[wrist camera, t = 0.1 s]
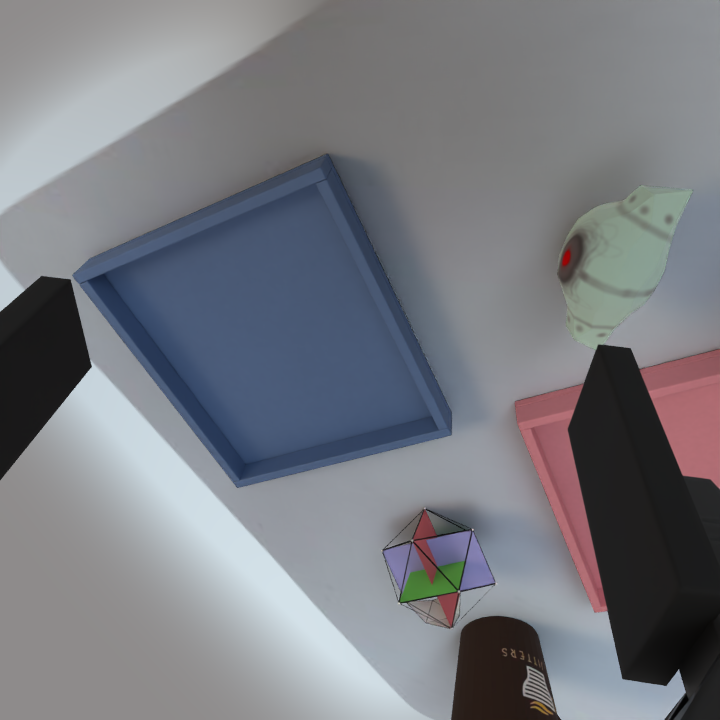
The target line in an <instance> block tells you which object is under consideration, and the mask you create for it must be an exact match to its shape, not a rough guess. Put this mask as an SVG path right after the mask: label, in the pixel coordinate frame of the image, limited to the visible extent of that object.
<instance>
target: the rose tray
mask: <svg viewBox="0 0 720 720" xmlns="http://www.w3.org/2000/svg"><path fill="white" fill-rule="evenodd" d="M640 372H641V375H642V377H643V380H644V382H645V385H646V387H647V390H648V392H649V394H650V397H651V399H652V402H653V404H654V407H655V409H656V412H657V414H658V416H659V419H660V421H661V424H662V426H663V429H664V431H665V434H666V436H667V438H668V441H669V443H670V446H671V448H672V451H673V453H674V456H675V458H676V460H677V463H678V465H679V468H680V470H681V473H682V475H683V476H690V477H698V478H705V479H711V480H712V482H713V483H714V484H715V485H716V486H717V487H718V488H719V489H720V349H718V350H714V351H710V352H706V353H702V354H699V355H695V356H691V357H687V358H683V359H679V360H675V361H671V362H667V363H663V364H660V365H656V366H652V367H648V368H644V369H640ZM583 385H584V384H582V385H578V386H574V387H570V388H566V389H562V390H558V391H554V392H550V393H546V394H543V395H539V396H535V397H531V398H527V399H523V400H519V401H515V407H516V408H515V409H516V417H517V424H518V426H519V429H520V431H521V434H522V436H523V439H524V441H525V444H526V446H527V448H528V451H529V453H530V456H531V458H532V461H533V463H534V466H535V468H536V470H537V473H538V475H539V478H540V480H541V483H542V485H543V488H544V490H545V492H546V495H547V497H548V500H549V502H550V505H551V507H552V509H553V512H554V514H555V517H556V519H557V522H558V524H559V527H560V529H561V531H562V534H563V536H564V539H565V541H566V544H567V546H568V549H569V551H570V553H571V556H572V558H573V561H574V563H575V566H576V568H577V571H578V573H579V575H580V578H581V580H582V583H583V585H584V588H585V590H586V593H587V595H588V597H589V600H590V602H591V605H592V607H593V610H594V612H595V613H596V612H604V611H607V606H606V602H605V597H604V593H603V588H602V583H601V579H600V574H599V570H598V565H597V561H596V556H595V552H594V547H593V543H592V538H591V534H590V529H589V525H588V520H587V516H586V511H585V506H584V502H583V497H582V493H581V488H580V484H579V479H578V475H577V470H576V466H575V461H574V457H573V452H572V448H571V443H570V439H569V434H568V426H569V424H570V421H571V418H572V415H573V413H574V410H575V407H576V404H577V401H578V399H579V396H580V393H581V390H582V388H583Z"/></svg>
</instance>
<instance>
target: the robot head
mask: <svg viewBox="0 0 720 720" xmlns="http://www.w3.org/2000/svg"><path fill="white" fill-rule="evenodd" d="M692 192H693V190H690V189H678V188H666V187H654V186H643V185H640V186H639V187H638V188H637V189H636V190H635V191H634V192H633V193H631V194H630V195H629V196H628V197H627V198H626V199H625V200H623V201H618V202H612V203H605V204H602V205H600V206H597V207H594V208H593V209H592V210H590V211H589V212H587V213H586V214H584V215H583V216H582V217H580V218H579V219H578V220H577V221H576V223H575V224H574V226H573V227H572V229H571V230H570V232H569V233H568V235H567V238H566V240H565V242H564V245H563V247H562V250H561V252H560V255H559V259H558V273H557V275H558V278H559V281H560V285H561V288H562V291H563V294H564V297H565V300H566V303H567V318H566V327H567V328H568V330H569V332H570V334H571V335H572V337H573V339H574V340H576V341H578V342H580V343H582V344H584V345H586V346H588V347H590V348H592V349H594V350H596V349H597V346H598V344H599V345H604V343H605V342H606V341H607V339H608V338H609V337H610V335H611V334H612V333H613V331H614V330H615V329H616V328H617V327H618V326H619V325H620V324H621V323H622V322H623V321H624V320H625V319H626V318H627V317H628V316H629V315H630V314H632V313H633V312H634V311H636V310H637V309H639V308H640V307H641V306H643V305H644V304H645V303H646V301H647V300H648V299H649V297H650V296H651V294H652V293H653V292H654V290H655V289H656V287H657V285H658V283H659V281H660V279H661V277H662V275H663V273H664V271H665V267H666V262H667V257H668V253H669V249H670V245H671V242H672V239H673V236H674V233H675V229H676V226H677V224H678V222H679V219H680V217H681V215H682V213H683V211H684V209H685V207H686V205H687V203H688V200H689V198H690V196H691V194H692Z"/></svg>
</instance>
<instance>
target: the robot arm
mask: <svg viewBox="0 0 720 720" xmlns="http://www.w3.org/2000/svg"><path fill="white" fill-rule="evenodd" d="M91 367H92V366H91V362H90V358H89V354H88V350H87V345H86V341H85V337H84V333H83V329H82V325H81V321H80V316H79V312H78V308H77V304H76V300H75V296H74V292H73V288H72V283H71V280H69V279H61V278H53V277H45V276H41V277H40V278H39V279H38V280H36V281H35V282H34V283H33V284H32V285H31V286H29V287H28V288H27V289H26V290H25V291H24V292H23V293H21V294H20V295H19V296H18V297H17V298H16V299H15V300H13V301H12V302H11V303H10V304H9V305H8V306H7V307H5V308H4V309H3V310H2V311H1V312H0V480H1V479H2V477H3V476H4V475H5V474H6V472H7V471H8V470H9V469H10V467H11V466H12V465H13V464H14V463H15V461H16V460H17V459H18V458H19V456H20V455H21V454H22V453H23V451H24V450H25V449H26V448H27V446H28V445H29V444H30V443H31V441H32V440H33V439H34V438H35V437H36V435H37V434H38V433H39V432H40V430H41V429H42V428H43V427H44V425H45V424H46V423H47V422H48V420H49V419H50V418H51V417H52V415H53V414H54V413H55V412H56V410H57V409H58V408H59V407H60V405H61V404H62V403H63V402H64V401H65V399H66V398H67V397H68V396H69V394H70V393H71V392H72V390H73V389H74V388H75V387H76V385H77V384H78V383H79V382H80V381H81V379H82V378H83V377H84V376H85V374H86V373H87V372H88V371H89V369H90V368H91ZM568 434H569V439H570V443H571V448H572V452H573V457H574V461H575V466H576V470H577V475H578V479H579V484H580V488H581V493H582V497H583V502H584V506H585V511H586V516H587V520H588V525H589V529H590V534H591V538H592V543H593V547H594V552H595V556H596V561H597V565H598V570H599V574H600V579H601V583H602V588H603V593H604V597H605V602H606V606H607V611H608V615H609V620H610V624H611V629H612V633H613V638H614V642H615V647H616V651H617V656H618V660H619V665H620V670H621V674H622V679H626V680H632V681H638V682H645V683H651V684H658V685H664V686H667V684H668V683H669V682H670V680H671V679H672V677H673V676H674V675H675V673H676V672H677V671H678V669H679V670H680V674H681V677H682V680H683V684H684V687H685V691H686V693H685V694H684V695H683V697H682V698H681V699H680V700H679V702H678V703H677V704H676V706H675V707H674V708H673V709H672V711H671V712H670V713H669V714H668V716H667V717H666V718H665V720H720V489H719V488H718V487H717V486H716V485H715V484H714V483H713V482H712V480H711V479H705V478H698V477H690V476H683V475H682V473H681V470H680V468H679V465H678V463H677V460H676V458H675V456H674V453H673V451H672V448H671V446H670V443H669V441H668V438H667V436H666V434H665V431H664V429H663V426H662V424H661V421H660V419H659V416H658V414H657V412H656V409H655V407H654V404H653V402H652V399H651V397H650V394H649V392H648V390H647V387H646V385H645V382H644V380H643V377H642V375H641V372H640V370H639V367H638V365H637V363H636V360H635V358H634V355H633V353H632V350H631V348H624V347H616V346H608V345H599V344H598V346H597V349H596V352H595V354H594V357H593V360H592V363H591V365H590V368H589V371H588V374H587V376H586V379H585V382H584V385H583V388H582V390H581V393H580V396H579V399H578V401H577V404H576V407H575V410H574V413H573V415H572V418H571V421H570V424H569V426H568Z"/></svg>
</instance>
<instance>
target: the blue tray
mask: <svg viewBox="0 0 720 720" xmlns="http://www.w3.org/2000/svg"><path fill="white" fill-rule="evenodd" d="M72 276H73V277H74V279H75V280H76V281H77V282H78V283H79V284H80V286H81V288H82V289H83V290H84V291H85V293H86V294H87V295H88V297H89V298H90V299H91V300H92V302H93V303H94V304H95V306H96V307H97V308H98V309H99V311H100V312H101V313H102V315H103V316H104V317H105V318H106V320H107V321H108V322H109V324H110V325H111V326H112V327H113V329H114V330H115V331H116V333H117V334H118V335H119V336H120V338H121V339H122V340H123V342H124V343H125V344H126V345H127V347H128V348H129V349H130V350H131V352H132V353H133V354H134V356H135V357H136V358H137V359H138V361H139V362H140V363H141V365H142V366H143V367H144V368H145V370H146V371H147V372H148V374H149V375H150V376H151V377H152V379H153V380H154V381H155V383H156V384H157V385H158V386H159V388H160V389H161V390H162V392H163V393H164V394H165V395H166V397H167V398H168V399H169V401H170V402H171V403H172V404H173V406H174V407H175V408H176V410H177V411H178V412H179V413H180V415H181V416H182V417H183V419H184V420H185V421H186V422H187V424H188V425H189V426H190V428H191V429H192V430H193V431H194V433H195V434H196V435H197V437H198V438H199V439H200V440H201V442H202V443H203V444H204V446H205V447H206V448H207V449H208V451H209V452H210V453H211V455H212V456H213V457H214V458H215V460H216V461H217V462H218V464H219V465H220V466H221V467H222V469H223V470H224V471H225V473H226V474H227V475H228V476H229V478H230V479H231V480H232V481H233V483H234V484H235V486H236V487H237V488H239V487H243V486H247V485H251V484H255V483H259V482H263V481H268V480H272V479H276V478H280V477H284V476H288V475H292V474H296V473H300V472H304V471H308V470H312V469H316V468H320V467H324V466H328V465H332V464H337V463H341V462H345V461H349V460H353V459H357V458H361V457H365V456H369V455H373V454H377V453H381V452H385V451H389V450H393V449H397V448H401V447H406V446H410V445H414V444H418V443H422V442H426V441H430V440H434V439H438V438H442V437H446V436H450V435H452V413H451V411H450V409H449V407H448V404H447V402H446V400H445V398H444V396H443V394H442V392H441V390H440V388H439V386H438V384H437V381H436V379H435V377H434V375H433V373H432V371H431V369H430V367H429V365H428V363H427V360H426V358H425V356H424V354H423V352H422V350H421V348H420V346H419V344H418V342H417V340H416V337H415V335H414V333H413V331H412V329H411V327H410V325H409V323H408V321H407V319H406V316H405V314H404V312H403V310H402V308H401V306H400V304H399V302H398V300H397V298H396V296H395V293H394V291H393V289H392V287H391V285H390V283H389V281H388V279H387V277H386V275H385V272H384V270H383V268H382V266H381V264H380V262H379V260H378V258H377V256H376V254H375V252H374V249H373V247H372V245H371V243H370V241H369V239H368V237H367V235H366V233H365V231H364V228H363V226H362V224H361V222H360V220H359V218H358V216H357V214H356V212H355V210H354V208H353V205H352V203H351V201H350V199H349V197H348V195H347V193H346V191H345V189H344V187H343V184H342V182H341V180H340V178H339V176H338V174H337V172H336V170H335V168H334V166H333V164H332V161H331V159H330V157H329V155H328V154H326V155H323V156H321V157H319V158H317V159H314V160H312V161H310V162H308V163H305V164H303V165H301V166H298V167H296V168H294V169H292V170H289V171H287V172H285V173H283V174H280V175H278V176H276V177H274V178H271V179H269V180H267V181H264V182H262V183H260V184H258V185H255V186H253V187H251V188H249V189H246V190H244V191H242V192H240V193H237V194H235V195H233V196H231V197H228V198H226V199H224V200H221V201H219V202H217V203H215V204H212V205H210V206H208V207H206V208H203V209H201V210H199V211H197V212H194V213H192V214H190V215H187V216H185V217H183V218H181V219H178V220H176V221H174V222H172V223H169V224H167V225H165V226H163V227H160V228H158V229H156V230H153V231H151V232H149V233H147V234H144V235H142V236H140V237H138V238H135V239H133V240H131V241H129V242H126V243H124V244H122V245H120V246H117V247H115V248H113V249H110V250H108V251H106V252H104V253H101V254H99V255H97V256H95V257H92V258H90V259H89V260H88V261H87V262H86V263H85V264H83V265H82V266H81V267H80V268H79V269H78V270H77V271H76V272H75V273H74V274H73V275H72Z"/></svg>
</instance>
